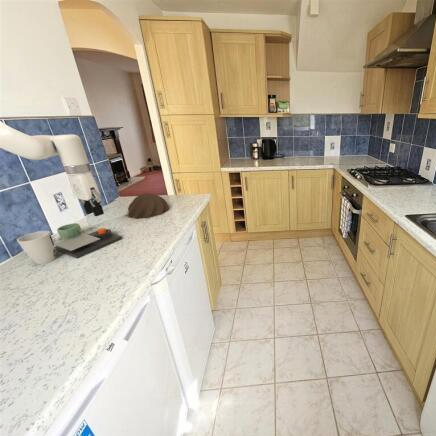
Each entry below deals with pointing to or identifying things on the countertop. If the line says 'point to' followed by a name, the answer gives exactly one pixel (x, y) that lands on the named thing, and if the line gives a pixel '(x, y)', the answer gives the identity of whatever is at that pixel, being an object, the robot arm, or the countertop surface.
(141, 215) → the decorative dome
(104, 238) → the scale
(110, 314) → the countertop surface
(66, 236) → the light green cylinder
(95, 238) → the grey plate
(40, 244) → the cup
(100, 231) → the tare button
